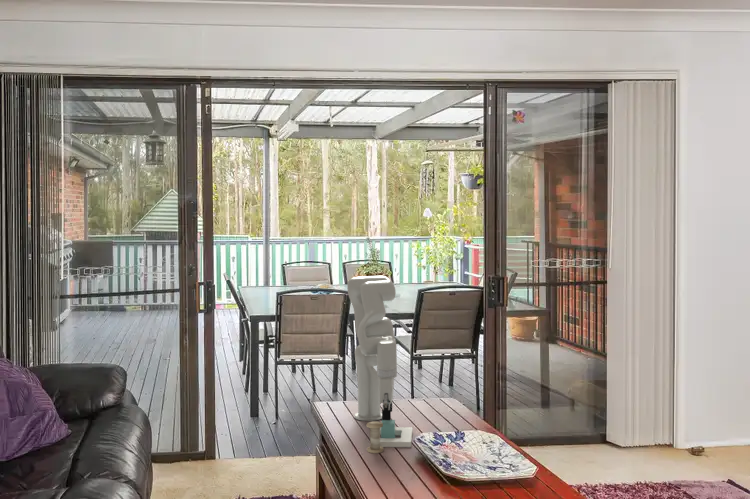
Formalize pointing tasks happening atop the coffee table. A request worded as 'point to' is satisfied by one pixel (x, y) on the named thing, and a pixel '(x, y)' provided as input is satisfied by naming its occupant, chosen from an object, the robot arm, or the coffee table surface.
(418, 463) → the coffee table surface
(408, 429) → the notched board
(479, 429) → the coffee table surface
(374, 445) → the bobbin
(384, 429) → the block
